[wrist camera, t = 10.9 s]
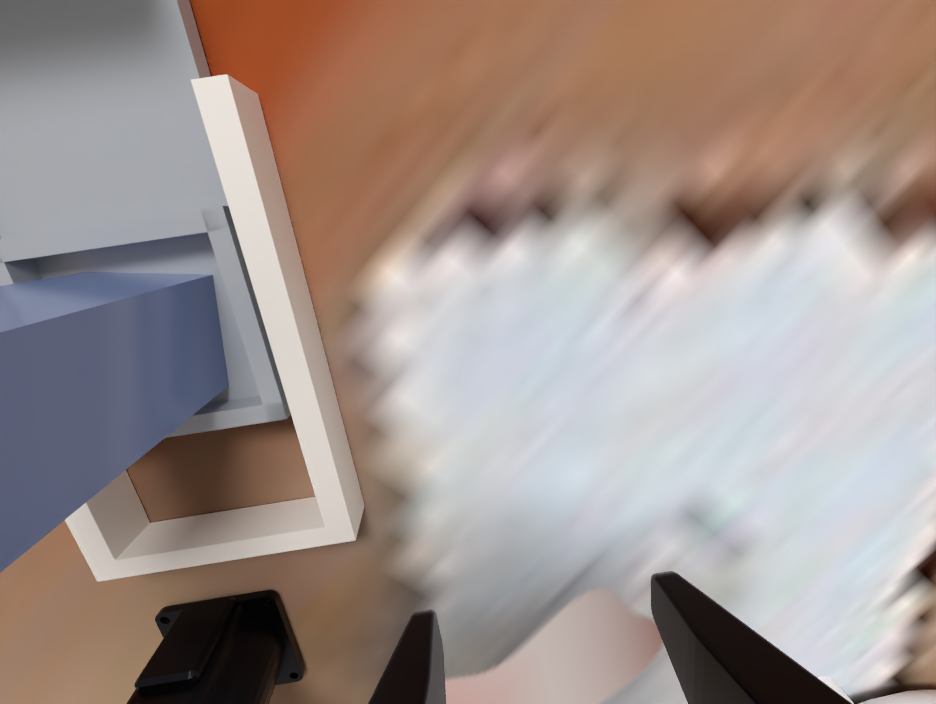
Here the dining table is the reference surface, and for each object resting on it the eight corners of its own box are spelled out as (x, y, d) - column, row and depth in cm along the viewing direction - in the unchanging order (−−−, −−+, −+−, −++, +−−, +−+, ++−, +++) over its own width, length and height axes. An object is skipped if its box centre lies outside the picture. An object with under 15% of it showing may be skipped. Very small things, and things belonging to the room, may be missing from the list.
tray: (303, 397, 20) (249, 470, 15) (111, 427, 20) (-19, 512, 14) (165, -83, 15) (-11, -272, 9) (-103, -47, 14) (-455, -215, 9)
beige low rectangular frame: (364, 505, 22) (355, 540, 20) (134, 542, 22) (97, 581, 20) (257, 94, 16) (227, 74, 14) (-59, 139, 16) (-144, 127, 14)
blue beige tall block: (229, 385, 19) (-125, 675, 7) (113, 384, 18) (-464, 687, 7) (212, 274, 17) (-270, 406, 6) (86, 271, 17) (-713, 404, 5)
